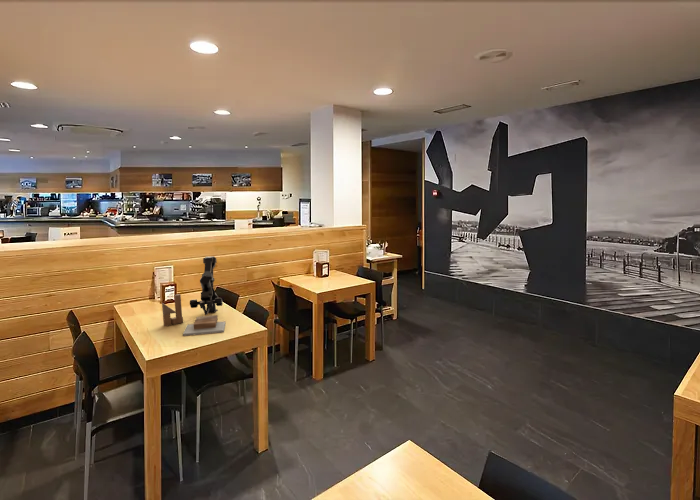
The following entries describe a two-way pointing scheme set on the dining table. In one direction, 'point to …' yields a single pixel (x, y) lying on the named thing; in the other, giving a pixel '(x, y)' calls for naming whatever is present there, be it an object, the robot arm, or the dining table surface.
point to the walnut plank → (205, 322)
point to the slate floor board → (204, 329)
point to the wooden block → (168, 311)
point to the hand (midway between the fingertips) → (205, 314)
